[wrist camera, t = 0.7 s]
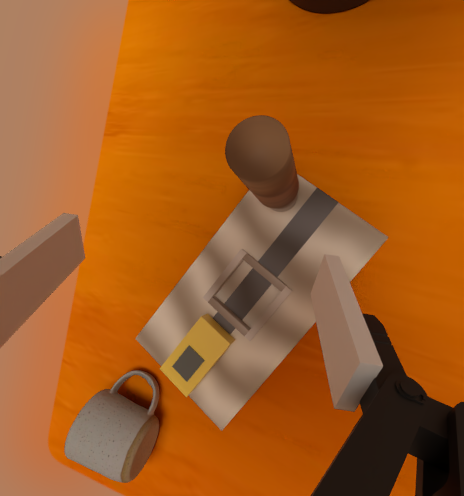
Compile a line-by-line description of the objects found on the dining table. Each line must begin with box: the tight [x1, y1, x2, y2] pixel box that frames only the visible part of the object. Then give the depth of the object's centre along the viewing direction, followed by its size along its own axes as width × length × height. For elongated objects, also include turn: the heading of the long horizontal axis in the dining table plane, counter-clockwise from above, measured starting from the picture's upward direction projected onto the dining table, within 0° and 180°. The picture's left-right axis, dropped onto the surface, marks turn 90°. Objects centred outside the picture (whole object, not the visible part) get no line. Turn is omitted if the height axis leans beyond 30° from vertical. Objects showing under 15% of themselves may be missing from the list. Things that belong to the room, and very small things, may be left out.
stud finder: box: [160, 314, 235, 397], centre depth 33 cm, size 8×4×2 cm, turn 141°
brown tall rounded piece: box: [225, 115, 299, 212], centre depth 26 cm, size 4×4×14 cm
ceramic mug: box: [65, 370, 159, 483], centre depth 35 cm, size 11×8×8 cm
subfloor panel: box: [135, 174, 388, 431], centre depth 34 cm, size 28×15×3 cm, turn 141°
